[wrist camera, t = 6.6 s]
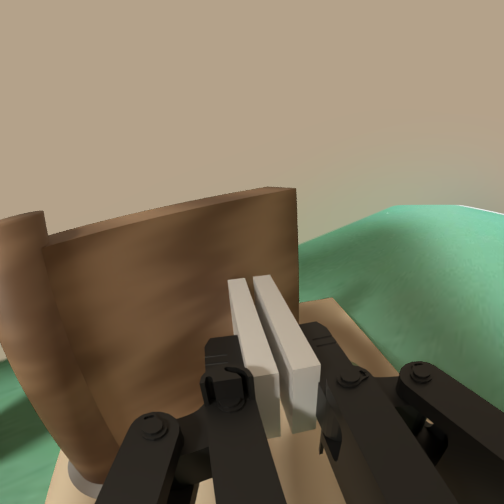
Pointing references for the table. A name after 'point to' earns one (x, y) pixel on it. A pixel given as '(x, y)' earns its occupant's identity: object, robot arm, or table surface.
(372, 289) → the table surface
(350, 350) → the dial board
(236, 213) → the wooden flag on pole
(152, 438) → the robot arm
